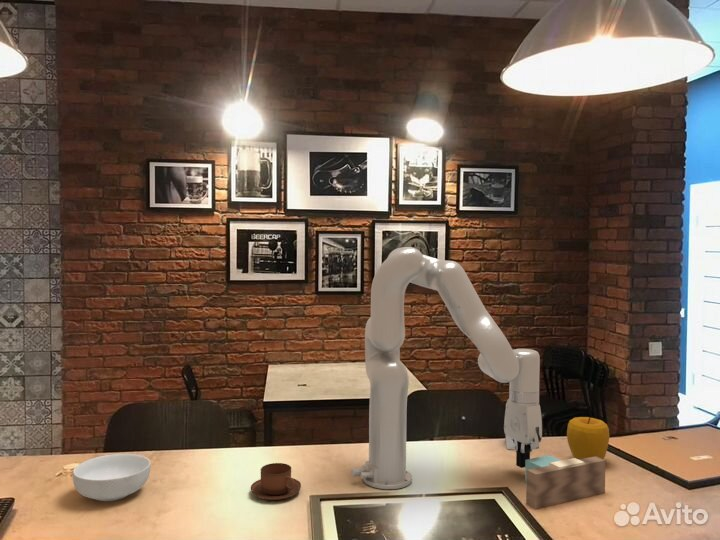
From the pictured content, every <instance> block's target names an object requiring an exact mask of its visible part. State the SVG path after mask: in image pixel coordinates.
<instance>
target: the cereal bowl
mask: <svg viewBox="0 0 720 540" xmlns="http://www.w3.org/2000/svg"><path fill="white" fill-rule="evenodd" d="M151 465H152V464H151V460H150V459H149V458H148V457H146V456H144V455H140V454H134V453H114V454H106V455H101V456H96V457H94V458H93V457H92V458H90V459H87V460H85V461H83V462H81V463H79V464H77V465H76V466H75V467H74V469H73V471H72V482H73V485H74V488H75V490H76V491H77V492H78V493H79V494H80V495H81V496H83V497H86V498H89V499H93V500H96V501H98V502H99V501H100V502H114V501H118V500H122V499H124V498H126V497H127V496H129V495H131V494H133V493H136V491H138V490H140V489H141V488H143V486H144V485H145V484H146V483H147V482H148V479H149V478H150V473H151V467H152V466H151Z"/></svg>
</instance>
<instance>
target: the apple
mask: <svg viewBox="0 0 720 540" xmlns="http://www.w3.org/2000/svg"><path fill="white" fill-rule="evenodd" d="M566 439H567V443H568V447H569V450H570V452H571V454H572V456H573V458H576V459H578V460H579V459H585V458H590V457H595V456H596V457H598V458H601V459H603V460H605V457H606V455H607V451H608V447H609V443H610V429H609V425H608V424H607V423H605V422H604V421H603V420H601V419H598V418H594V417H589V416H579V417H578V416H577V417H576V416H575V417H573V418H572V419H569V421H568V423H567V430H566Z"/></svg>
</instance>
